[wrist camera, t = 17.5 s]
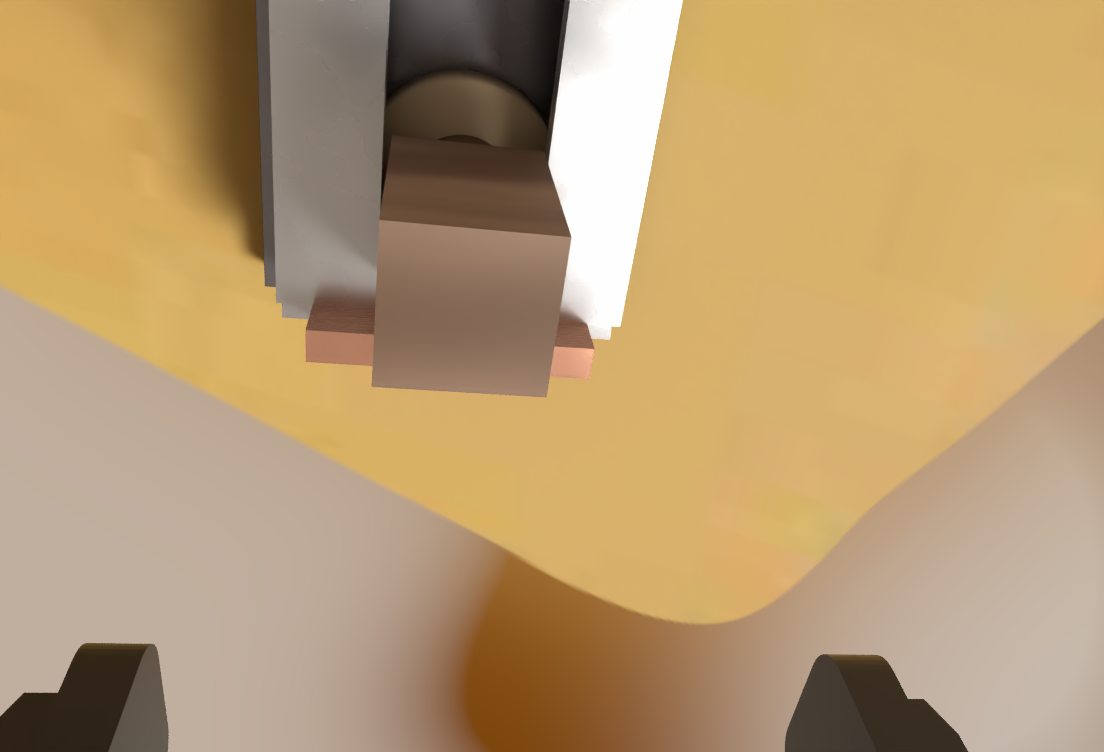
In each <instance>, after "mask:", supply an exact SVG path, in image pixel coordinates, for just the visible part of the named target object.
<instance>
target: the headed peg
mask: <svg viewBox="0 0 1104 752" xmlns="http://www.w3.org/2000/svg"><path fill="white" fill-rule="evenodd" d="M547 133H548V128H547V126H546V124H545V122H544V120H543V118H542V117H541V115H540V114H539V112H538V111H537V109H536V108H535V107H534V106H533V104H532V103H531V102H530V101H529V100H528V99H527V98H526V97H525V96H524V95H523V94H522V93H520V92H519V91H518V90H517V89H515V88H514V87H512V86H511V85H509V84H508V83H506V82H504V81H502V80H500V79H498V78H496V77H494V76H490V75H487V74H484V73H481V72H476V71H470V70H443V71H438V72H433V73H429V74H426V75H424V76H421V77H418V78H416V79H414V80H412V81H410V82H408V83H407V84H405V85H403V86H402V87H401V88H399V89H398V90H397V91H395V92H394V93H393V94H392V95H391V96H390V97H389V98H388V99H387V100H386V116H385V142H384V168H383V195H382V205H381V211H380V218H379V234H378V257H377V279H376V302H375V325H374V348H373V371H372V387H384V388H400V389H416V390H433V391H449V392H466V393H482V394H499V395H515V396H532V397H547V391H548V384H549V378H550V372H551V365H552V359H553V353H554V346H555V340H556V334H557V327H558V321H559V315H560V308H561V302H562V296H563V289H564V283H565V277H566V270H567V264H568V258H569V251H570V245H571V239H572V237H571V234H570V230H569V227H568V224H567V221H566V218H565V215H564V212H563V209H562V206H561V202H560V199H559V196H558V193H557V190H556V187H555V184H554V181H553V178H552V175H551V171H550V168H549V165H548V162H547V159H546V156H545V148H546V141H547Z"/></svg>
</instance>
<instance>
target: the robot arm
mask: <svg viewBox="0 0 1104 752" xmlns="http://www.w3.org/2000/svg"><path fill="white" fill-rule="evenodd" d="M0 752H168V723H167V716H166V708H165V701H164V694H163V686H162V679H161V672H160V664H159V657H158V652H157V648H156V647H155V645H154V644H114V643H86V644H83V645H82V646H81V647H80V648H79V649H78V651H77V652H76V654H75V656H74V658H73V660H72V662H71V665H70V667H69V669H68V671H67V674H66V676H65V678H64V681H63V683H62V686H61V687H60V690H59V692H58V693H23V694H22V696H21V697H20V698H18V699H17V700H16V701H15V702H14V703H13V704H12V706H10V707H9V708H8V709H7V710H6V711H5V712H4V713H3V714H2V715H1V716H0ZM785 752H968V751H967V749H966V747H965V745H964V744H963V742H962V740H961V738H960V736H959V735H958V733H956V731H954V729H953V728H952V727H951V726H949V724H948V723H947V722H946V721H945V720H944V719H943V718H942V717H941V716H940V715H939V714H938V713H937V712H936V711H935V710H934V709H933V708H932V707H931V706H930V705H929V704H928V703H927V702H926V701H925V700H924V699H908V698H907V696H906V695H905V693H904V691H903V689H902V687H901V685H900V683H899V681H898V679H897V677H896V676H895V673H894V672H893V670H892V668H891V666H890V665H889V663H888V662H887V661H886V660H885V659H884V658H883V657H881V656H878V655H828V654H823V655H820V656H819V657H818V658H817V659H816V661H815V662H814V665H813V667H812V669H811V672H810V674H809V677H808V679H807V682H806V684H805V687H804V689H803V692H802V694H801V697H800V699H799V702H798V704H797V707H796V709H795V712H794V714H793V717H792V719H791V722H790V724H789V727H788V730H787V733H786V741H785Z"/></svg>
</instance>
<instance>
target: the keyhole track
mask: <svg viewBox="0 0 1104 752" xmlns="http://www.w3.org/2000/svg"><path fill="white" fill-rule="evenodd" d="M681 6H682V0H256V24H257V55H258V86H259V117H260V148H261V179H262V210H263V240H264V271H265V286H270V287H276V303H282V317H285V318H299V319H309V320H308V323H307V327H306V362H317V363H333V364H350V365H366V366H373V348H374V325H375V302H376V279H377V257H378V234H379V218H380V211H381V205H382V195H383V168H384V142H385V116H386V100H387V99H388V98H389V97H390V96H391V95H392V94H393V93H394V92H395V91H397V90H398V89H399V88H401V87H402V86H403V85H405V84H407V83H408V82H410V81H412V80H414V79H416V78H418V77H421V76H424V75H426V74H429V73H433V72H438V71H443V70H470V71H476V72H481V73H484V74H487V75H490V76H494V77H496V78H498V79H500V80H502V81H504V82H506V83H508V84H509V85H511V86H512V87H514V88H515V89H517V90H518V91H519V92H520V93H522V94H523V95H524V96H525V97H526V98H527V99H528V100H529V101H530V102H531V103H532V104H533V106H534V107H535V108H536V109H537V111H538V112H539V114H540V115H541V117H542V118H543V120H544V122H545V124H546V126H547V128H548V133H547V141H546V148H545V156H546V159H547V162H548V165H549V168H550V171H551V175H552V178H553V181H554V184H555V187H556V190H557V193H558V196H559V199H560V202H561V206H562V209H563V212H564V215H565V218H566V221H567V224H568V227H569V230H570V234H571V237H572V239H571V245H570V251H569V258H568V264H567V270H566V277H565V283H564V289H563V296H562V302H561V308H560V315H559V321H558V327H557V334H556V340H555V346H554V353H553V359H552V365H551V372H550V377H564V378H580V379H589V377H590V371H591V366H592V360H593V354H594V346H593V342H592V339H591V338H594V339H609V340H610V334H611V329H612V326H618V327H620V324H621V319H622V314H623V309H624V303H625V298H626V293H627V288H628V282H629V277H630V272H631V267H632V262H633V256H634V251H635V246H636V241H637V235H638V230H639V225H640V220H641V215H642V209H643V204H644V199H645V194H646V188H647V183H648V178H649V173H650V168H651V162H652V157H653V152H654V147H655V141H656V136H657V131H658V126H659V121H660V115H661V110H662V105H663V100H664V94H665V89H666V84H667V79H668V73H669V68H670V63H671V58H672V53H673V47H674V42H675V37H676V32H677V26H678V21H679V16H680V11H681Z"/></svg>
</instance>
